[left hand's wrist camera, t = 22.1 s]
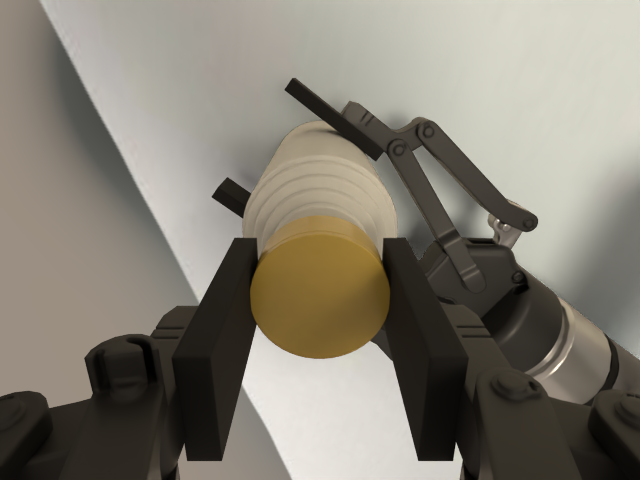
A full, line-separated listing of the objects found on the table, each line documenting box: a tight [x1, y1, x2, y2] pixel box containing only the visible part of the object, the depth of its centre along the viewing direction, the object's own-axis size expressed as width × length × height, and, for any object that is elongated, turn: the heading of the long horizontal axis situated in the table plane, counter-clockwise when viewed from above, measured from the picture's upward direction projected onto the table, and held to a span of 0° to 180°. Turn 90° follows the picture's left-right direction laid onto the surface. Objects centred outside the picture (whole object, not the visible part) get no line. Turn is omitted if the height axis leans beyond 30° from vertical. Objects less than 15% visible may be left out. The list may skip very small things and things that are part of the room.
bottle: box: [243, 121, 398, 260], centre depth 23 cm, size 7×7×20 cm
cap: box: [250, 215, 390, 359], centre depth 14 cm, size 4×4×2 cm
